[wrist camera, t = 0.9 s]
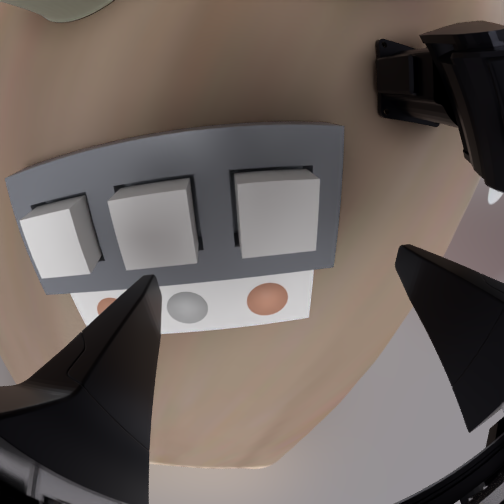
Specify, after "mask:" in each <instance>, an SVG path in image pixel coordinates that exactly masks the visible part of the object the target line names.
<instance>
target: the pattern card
mask: <svg viewBox="0 0 504 504" xmlns="http://www.w3.org/2000/svg"><path fill="white" fill-rule="evenodd" d="M313 274H314V270H308V271H300V272H292V273H283V274H275V275H266V276H258V277H249V278H240V279H230V280H221V281H211V282H201V283H191V284H181V285H170V286H159V288H160V291H161V294H162V313H161V334H168V333H183V332H196V331H207V330H218V329H228V328H237V327H246V326H254V325H262V324H269V323H277V322H284V321H290V320H297V319H303V318H309V311H310V303H311V293H312V284H313ZM126 290H127V289H123V290H110V291H96V292H82V293H70V294H71V296H72V298H73V300H74V302H75V304H76V306H77V308H78V310H79V312H80V314H81V316H82V318H83V320H84V322H85V324H86V326H88V325H89V324H90V323H91V322H92V321H93V320H94V319H95V318H96V317H97V316H99V315H100V314H101V313H102V312H103V311H104V310H105V309H106V308H107V307H108V306H109V305H110V304H112V303H113V302H114V301H115V300H116V299H117V298H118V297H119V296H120V295H122V294H123V293H124V292H125V291H126Z"/></svg>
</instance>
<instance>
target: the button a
mask: <svg viewBox="0 0 504 504" xmlns="http://www.w3.org/2000/svg"><path fill="white" fill-rule="evenodd" d="M20 224H21V227H22V230H23V233H24V236H25V239H26V241H27V244H28V247H29V249H30V252H31V255H32V257H33V260H34V262H35V264H36V267H37V269H38V271H39V274H40V276H41V278H42V279H43V278H54V277H64V276H75V275H85V274H91V272H92V271H93V269H94V267H95V266H96V264H97V262H98V261H99V259H100V257H101V256H102V253H101V250H100V246H99V243H98V240H97V237H96V233H95V230H94V226H93V223H92V219H91V215H90V212H89V208H88V204H87V200H86V196H85V195H83V196H78V197H74V198H70V199H65V200H61V201H57V202H53V203H49V204H45V205H41V206H37V207H36V208H35V209H33V210H32V211H31V212H30V213H28V214H27V215H26V216H25V217H23V218H22V219H21V220H20Z"/></svg>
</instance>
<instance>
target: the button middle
mask: <svg viewBox="0 0 504 504" xmlns="http://www.w3.org/2000/svg"><path fill="white" fill-rule="evenodd" d="M107 202H108V206H109V210H110V214H111V218H112V222H113V226H114V230H115V234H116V237H117V241H118V244H119V248H120V251H121V255H122V258H123V261H124V264H125V268H126V270H136V269H146V268H156V267H166V266H176V265H186V264H195V263H197V260H198V247H199V242H198V235H197V228H196V221H195V214H194V207H193V199H192V192H191V184H190V178H183V179H175V180H168V181H161V182H154V183H148V184H141V185H135V186H129V187H124V188H120V189H119V190H118V191H117V192H116V193H115V194H114V195H113V196H112V197H111V198H110V199H109V200H108V201H107Z"/></svg>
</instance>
